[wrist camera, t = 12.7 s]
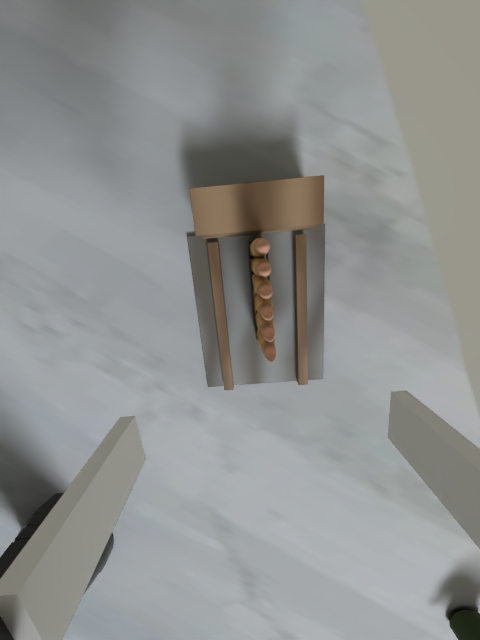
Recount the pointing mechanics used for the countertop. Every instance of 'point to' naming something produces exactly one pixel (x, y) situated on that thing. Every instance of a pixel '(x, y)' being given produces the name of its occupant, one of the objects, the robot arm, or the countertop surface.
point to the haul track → (286, 277)
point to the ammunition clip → (262, 296)
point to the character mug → (466, 625)
